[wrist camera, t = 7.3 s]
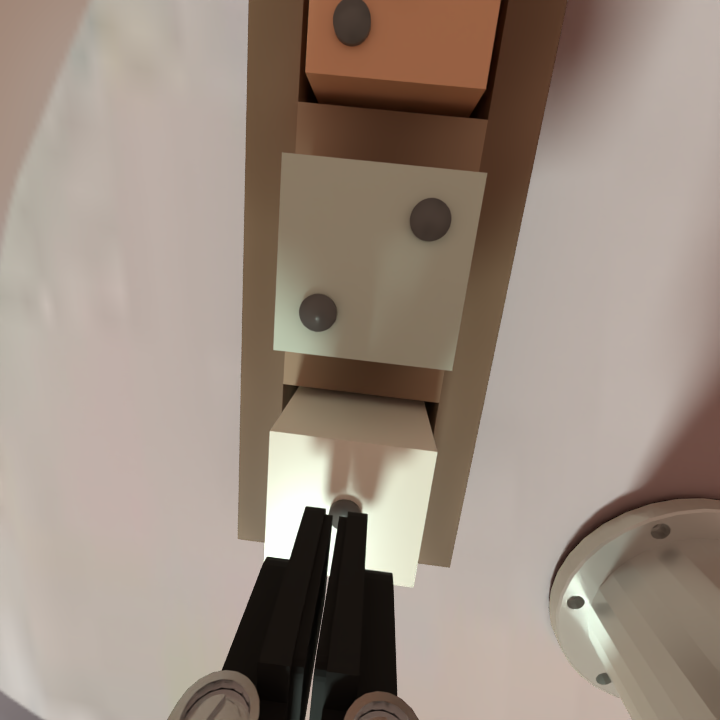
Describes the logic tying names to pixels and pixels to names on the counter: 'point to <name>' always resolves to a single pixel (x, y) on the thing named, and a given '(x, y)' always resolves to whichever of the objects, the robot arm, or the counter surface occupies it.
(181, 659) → the counter surface
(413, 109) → the button three
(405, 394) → the button board
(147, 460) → the counter surface
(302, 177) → the button two
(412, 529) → the button one
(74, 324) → the counter surface
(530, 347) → the counter surface
